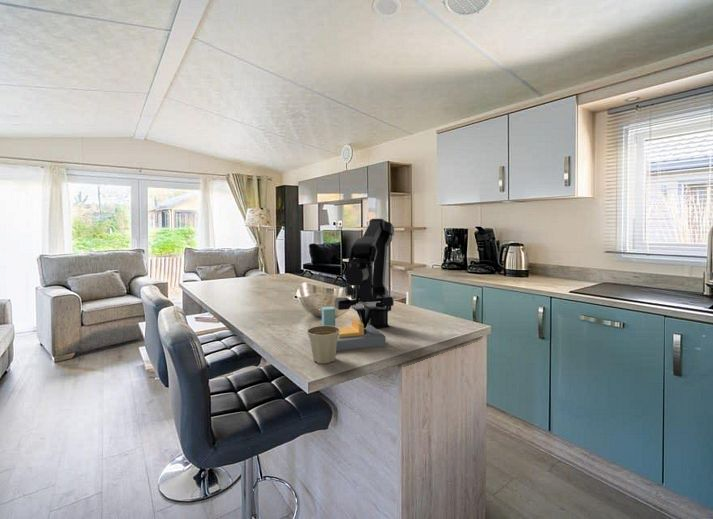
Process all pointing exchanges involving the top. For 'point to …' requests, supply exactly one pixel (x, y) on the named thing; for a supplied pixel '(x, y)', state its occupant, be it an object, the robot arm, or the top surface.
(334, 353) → the flower pot
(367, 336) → the socket plate
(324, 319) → the plug
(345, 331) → the orange block
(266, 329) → the top surface
